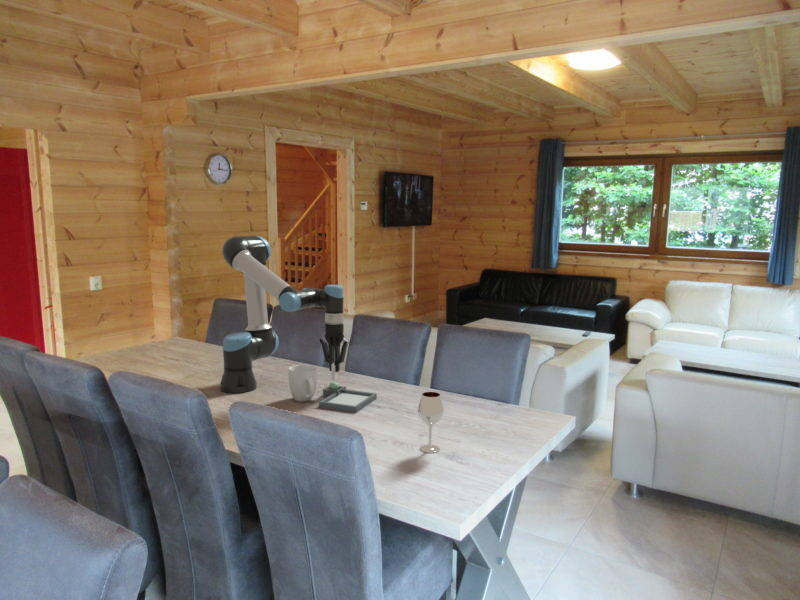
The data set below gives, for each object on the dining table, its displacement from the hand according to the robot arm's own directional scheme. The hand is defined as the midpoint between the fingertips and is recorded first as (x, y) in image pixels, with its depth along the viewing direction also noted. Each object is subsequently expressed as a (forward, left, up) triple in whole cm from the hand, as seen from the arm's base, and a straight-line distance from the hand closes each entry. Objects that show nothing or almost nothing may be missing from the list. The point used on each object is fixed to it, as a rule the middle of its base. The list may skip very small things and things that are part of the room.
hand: (334, 379), depth 241 cm
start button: (0, 0, -4) cm, 4 cm away
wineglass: (+55, -39, -7) cm, 68 cm away
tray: (+10, -7, -7) cm, 14 cm away
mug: (-8, -11, -7) cm, 15 cm away
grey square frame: (0, 0, -7) cm, 7 cm away
